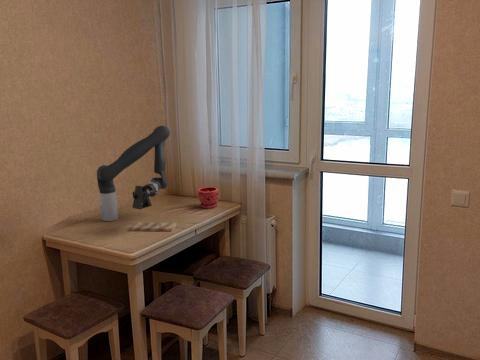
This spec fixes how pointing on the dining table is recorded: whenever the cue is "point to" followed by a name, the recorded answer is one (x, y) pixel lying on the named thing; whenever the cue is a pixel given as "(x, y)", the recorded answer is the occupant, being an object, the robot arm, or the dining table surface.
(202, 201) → the plant pot
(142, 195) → the phone stand
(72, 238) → the dining table surface
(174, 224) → the oak board
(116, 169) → the robot arm
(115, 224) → the dining table surface
